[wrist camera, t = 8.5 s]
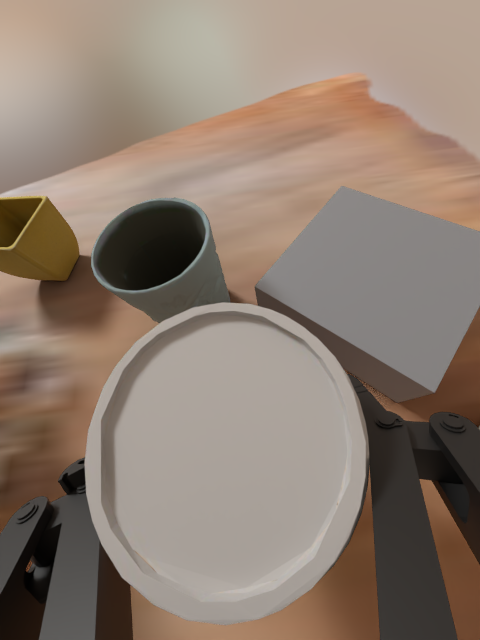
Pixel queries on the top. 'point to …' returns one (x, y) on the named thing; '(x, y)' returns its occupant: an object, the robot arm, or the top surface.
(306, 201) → the top surface
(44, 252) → the flower pot
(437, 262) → the riser block
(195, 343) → the disposable coffee cup
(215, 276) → the grey-green cup
